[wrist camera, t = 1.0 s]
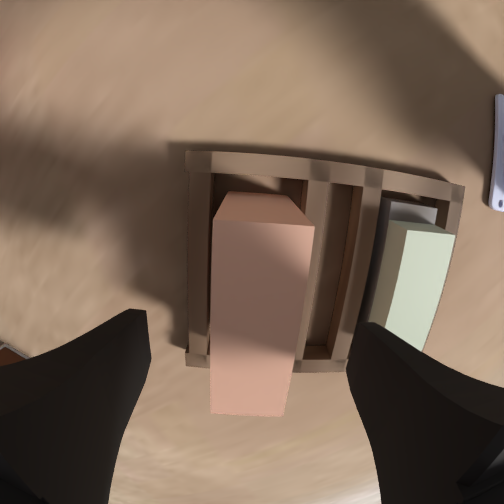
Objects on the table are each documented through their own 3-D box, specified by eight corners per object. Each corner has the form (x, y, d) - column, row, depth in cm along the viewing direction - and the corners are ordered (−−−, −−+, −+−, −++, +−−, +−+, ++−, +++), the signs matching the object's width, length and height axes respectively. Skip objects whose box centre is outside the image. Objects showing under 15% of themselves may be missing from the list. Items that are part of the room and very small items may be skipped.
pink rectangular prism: (286, 195, 16) (314, 226, 9) (272, 330, 18) (282, 416, 12) (228, 190, 16) (212, 219, 9) (222, 327, 18) (210, 413, 11)
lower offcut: (419, 202, 16) (437, 208, 14) (388, 334, 19) (399, 350, 17) (376, 195, 16) (391, 201, 14) (348, 335, 19) (357, 353, 17)
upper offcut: (434, 224, 14) (455, 234, 13) (406, 336, 17) (420, 354, 15) (389, 219, 14) (407, 229, 12) (363, 338, 17) (375, 358, 15)
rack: (450, 183, 15) (465, 186, 14) (407, 354, 19) (416, 366, 18) (191, 150, 15) (185, 150, 13) (189, 351, 19) (185, 366, 17)
